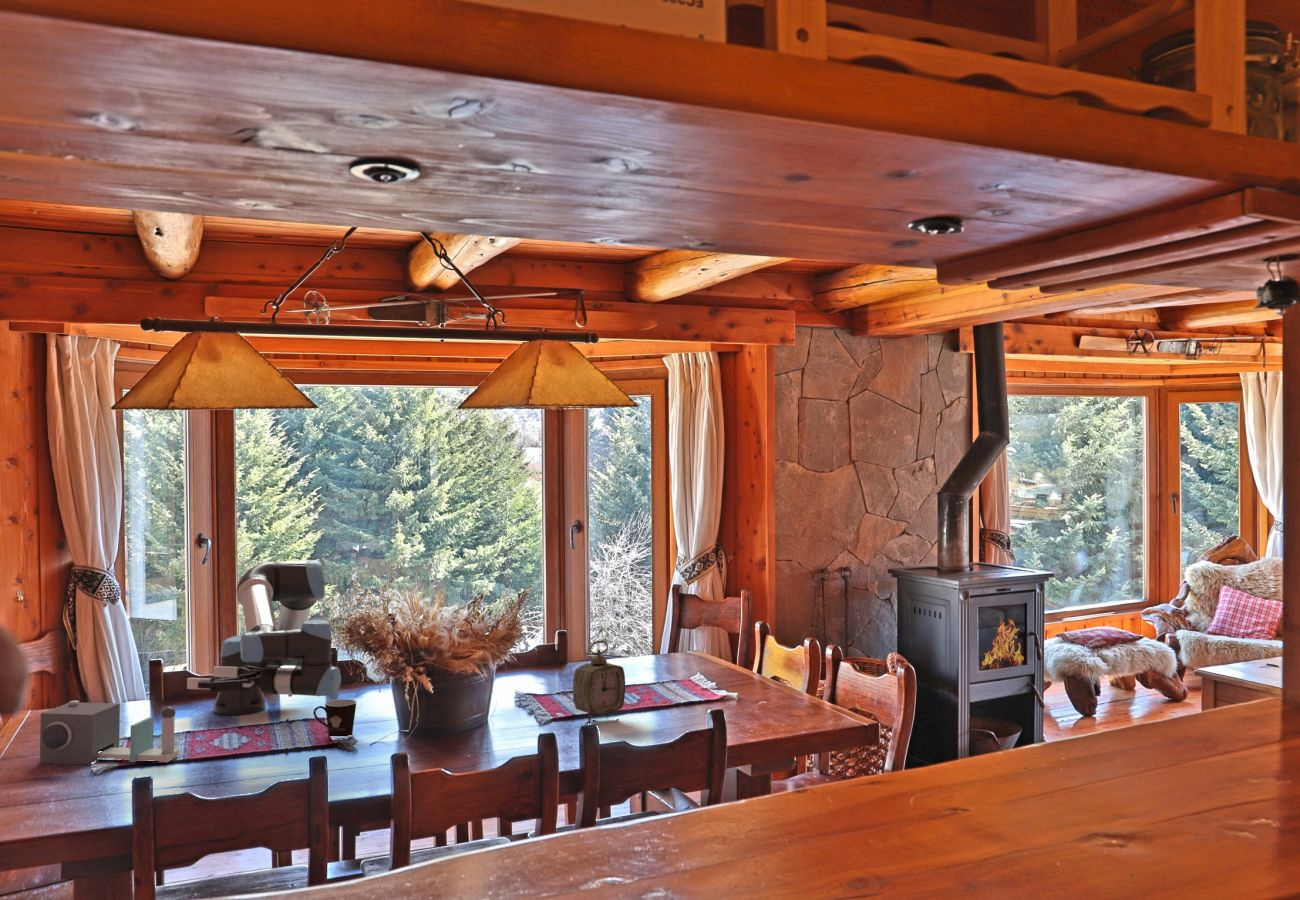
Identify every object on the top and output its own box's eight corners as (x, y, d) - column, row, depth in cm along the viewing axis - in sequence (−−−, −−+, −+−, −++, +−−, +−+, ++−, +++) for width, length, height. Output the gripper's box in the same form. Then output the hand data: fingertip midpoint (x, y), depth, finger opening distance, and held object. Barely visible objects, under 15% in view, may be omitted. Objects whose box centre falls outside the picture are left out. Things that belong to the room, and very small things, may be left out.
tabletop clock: (587, 729, 299) (588, 645, 299) (569, 722, 306) (570, 641, 306) (624, 721, 308) (625, 640, 309) (606, 715, 315) (607, 636, 315)
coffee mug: (362, 736, 288) (362, 701, 289) (339, 743, 281) (339, 707, 281) (334, 730, 294) (334, 696, 295) (310, 737, 287) (311, 702, 287)
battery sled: (182, 754, 268) (183, 702, 268) (164, 764, 259) (165, 711, 260) (113, 752, 270) (114, 701, 270) (93, 762, 261) (94, 709, 261)
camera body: (119, 751, 271) (119, 699, 271) (86, 767, 257) (87, 712, 257) (69, 750, 272) (70, 698, 272) (34, 765, 258) (35, 711, 258)
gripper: (258, 706, 250) (175, 703, 251) (299, 682, 275) (224, 680, 276) (258, 676, 250) (176, 673, 251) (299, 655, 274) (224, 653, 276)
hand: (201, 677), depth 263 cm, fingers open, 13 cm apart
